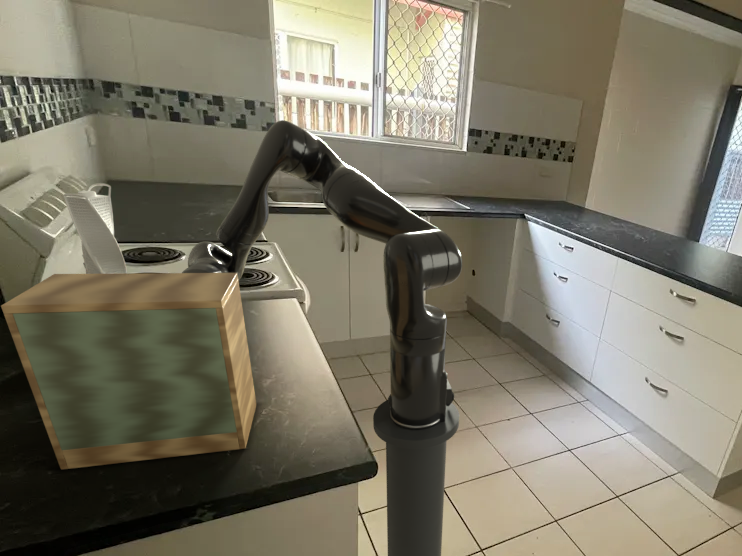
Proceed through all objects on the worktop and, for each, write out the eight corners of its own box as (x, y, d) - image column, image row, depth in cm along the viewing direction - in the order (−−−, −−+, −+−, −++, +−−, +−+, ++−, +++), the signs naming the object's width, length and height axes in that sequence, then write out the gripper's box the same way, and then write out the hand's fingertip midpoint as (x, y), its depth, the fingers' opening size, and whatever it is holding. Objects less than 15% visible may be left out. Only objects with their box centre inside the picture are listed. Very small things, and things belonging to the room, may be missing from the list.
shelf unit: (256, 404, 79) (237, 272, 70) (245, 448, 69) (221, 300, 60) (98, 418, 72) (53, 273, 63) (60, 469, 62) (0, 305, 53)
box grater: (139, 303, 113) (109, 180, 101) (142, 314, 107) (111, 186, 96) (93, 308, 108) (56, 180, 96) (93, 320, 102) (55, 186, 91)
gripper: (150, 268, 85) (115, 298, 71) (239, 268, 90) (222, 296, 76) (158, 307, 88) (127, 343, 74) (244, 305, 93) (229, 338, 79)
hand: (175, 319), depth 75 cm, fingers open, 8 cm apart
